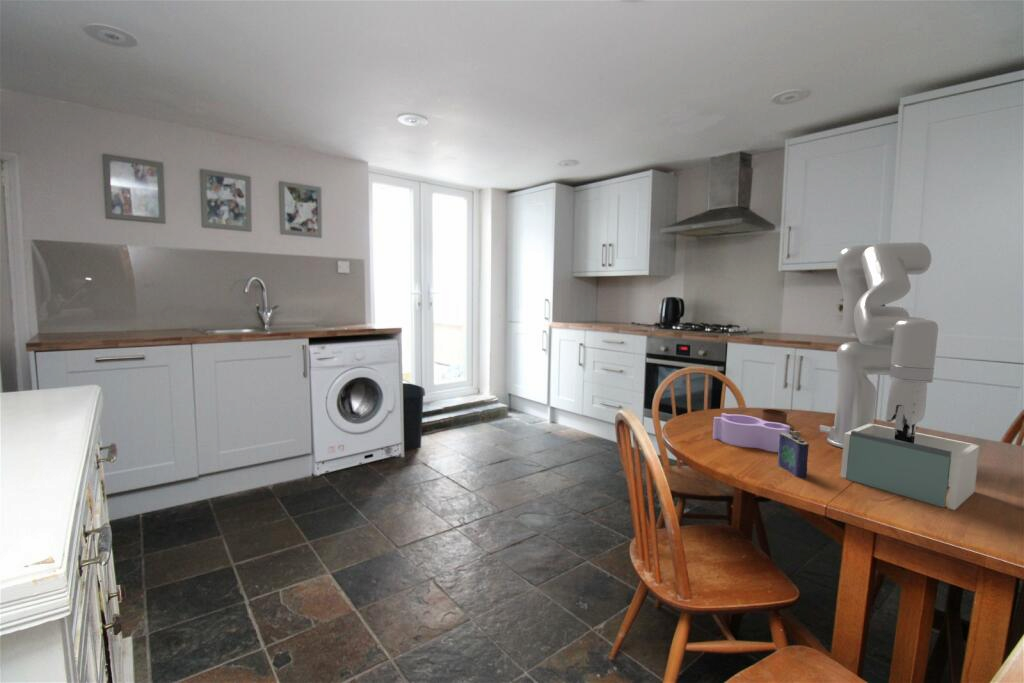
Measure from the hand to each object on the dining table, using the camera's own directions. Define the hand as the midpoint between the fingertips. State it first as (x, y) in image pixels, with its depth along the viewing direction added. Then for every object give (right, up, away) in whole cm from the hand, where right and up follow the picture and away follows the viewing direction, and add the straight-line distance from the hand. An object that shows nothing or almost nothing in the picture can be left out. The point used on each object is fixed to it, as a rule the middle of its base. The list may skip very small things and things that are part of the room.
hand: (903, 451), depth 108 cm
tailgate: (-3, -9, -1) cm, 10 cm away
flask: (-19, -9, +11) cm, 24 cm away
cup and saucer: (-2, -5, +50) cm, 51 cm away
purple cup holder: (-17, -6, +36) cm, 40 cm away
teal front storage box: (+3, -9, +3) cm, 10 cm away
